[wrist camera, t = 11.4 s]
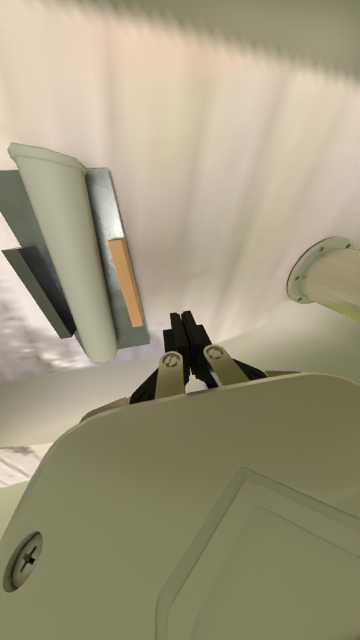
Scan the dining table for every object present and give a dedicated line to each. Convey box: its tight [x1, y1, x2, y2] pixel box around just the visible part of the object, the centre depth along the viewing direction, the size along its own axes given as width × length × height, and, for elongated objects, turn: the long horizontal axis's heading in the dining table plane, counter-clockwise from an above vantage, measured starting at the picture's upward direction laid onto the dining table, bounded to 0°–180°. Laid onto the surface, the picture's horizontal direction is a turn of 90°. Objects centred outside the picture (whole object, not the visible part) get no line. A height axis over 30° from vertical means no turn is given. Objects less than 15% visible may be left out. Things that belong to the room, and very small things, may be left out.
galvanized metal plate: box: [0, 168, 150, 354], centre depth 21 cm, size 12×25×4 cm, turn 4°
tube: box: [7, 143, 118, 364], centre depth 19 cm, size 5×5×25 cm
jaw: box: [107, 238, 143, 327], centre depth 21 cm, size 2×12×3 cm, turn 4°
